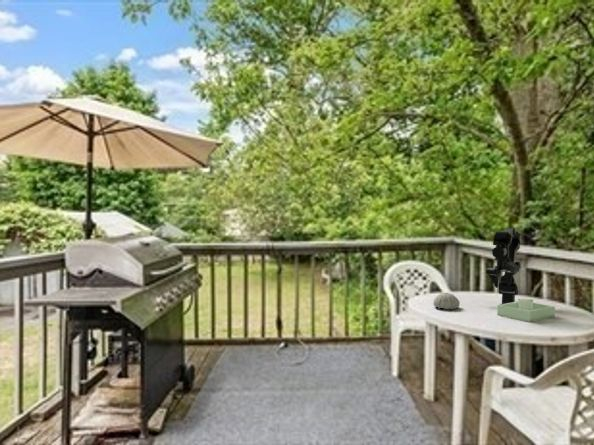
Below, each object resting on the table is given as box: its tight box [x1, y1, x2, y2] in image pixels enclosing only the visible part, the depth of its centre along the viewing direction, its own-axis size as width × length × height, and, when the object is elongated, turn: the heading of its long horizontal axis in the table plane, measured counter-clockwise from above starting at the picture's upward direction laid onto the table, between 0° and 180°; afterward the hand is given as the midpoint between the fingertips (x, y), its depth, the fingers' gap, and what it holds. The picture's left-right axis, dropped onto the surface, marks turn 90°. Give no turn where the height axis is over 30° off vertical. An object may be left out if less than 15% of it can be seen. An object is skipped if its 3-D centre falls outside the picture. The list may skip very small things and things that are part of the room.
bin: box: [496, 300, 556, 323], centre depth 278 cm, size 18×18×5 cm
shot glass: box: [517, 298, 534, 311], centre depth 278 cm, size 7×7×7 cm
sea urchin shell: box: [433, 292, 461, 310], centre depth 300 cm, size 13×14×8 cm
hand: (502, 286), depth 291 cm, fingers open, 9 cm apart
